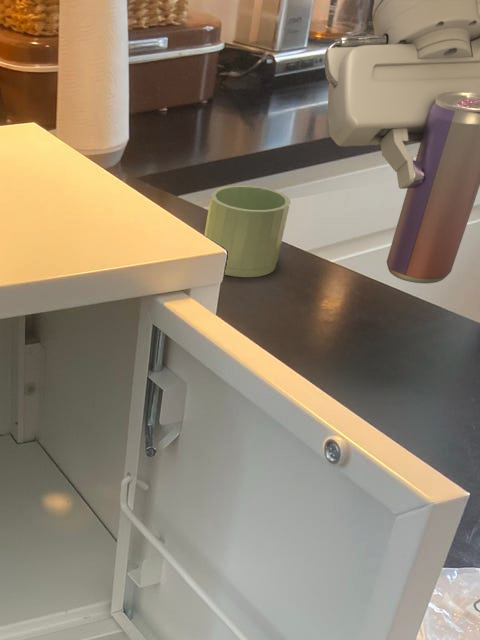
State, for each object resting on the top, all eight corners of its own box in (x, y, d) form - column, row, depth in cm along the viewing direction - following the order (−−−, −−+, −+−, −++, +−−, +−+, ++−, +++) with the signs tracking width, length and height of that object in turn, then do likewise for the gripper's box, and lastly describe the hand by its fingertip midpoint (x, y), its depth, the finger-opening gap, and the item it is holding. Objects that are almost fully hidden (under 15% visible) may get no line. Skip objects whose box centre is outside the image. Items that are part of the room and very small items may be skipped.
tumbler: (268, 249, 126) (281, 186, 120) (282, 278, 119) (297, 212, 113) (196, 247, 126) (206, 184, 120) (206, 276, 119) (217, 210, 113)
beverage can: (373, 273, 92) (422, 99, 81) (401, 256, 95) (451, 87, 85) (432, 290, 89) (490, 113, 78) (459, 272, 92) (518, 99, 82)
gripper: (339, 13, 81) (360, 170, 81) (552, 7, 84) (574, 159, 84) (305, 60, 88) (325, 206, 87) (505, 53, 91) (525, 195, 90)
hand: (449, 183), depth 86 cm, fingers closed on beverage can, 6 cm apart
